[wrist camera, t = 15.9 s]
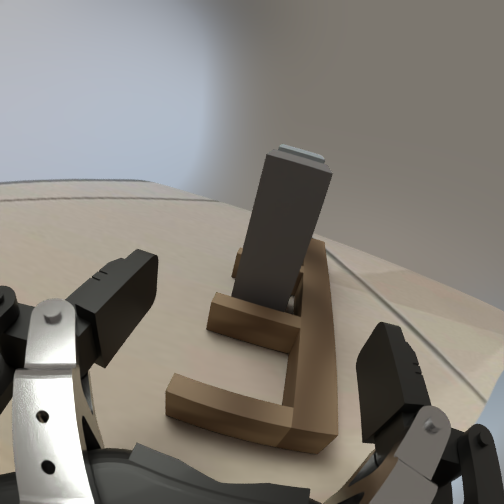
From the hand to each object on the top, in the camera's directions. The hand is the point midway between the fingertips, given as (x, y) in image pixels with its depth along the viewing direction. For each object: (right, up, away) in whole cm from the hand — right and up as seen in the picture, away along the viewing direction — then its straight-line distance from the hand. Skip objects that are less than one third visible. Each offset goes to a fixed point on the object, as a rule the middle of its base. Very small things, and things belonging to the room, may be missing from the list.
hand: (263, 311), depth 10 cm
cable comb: (+2, -3, +13) cm, 14 cm away
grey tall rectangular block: (0, -2, +14) cm, 14 cm away
